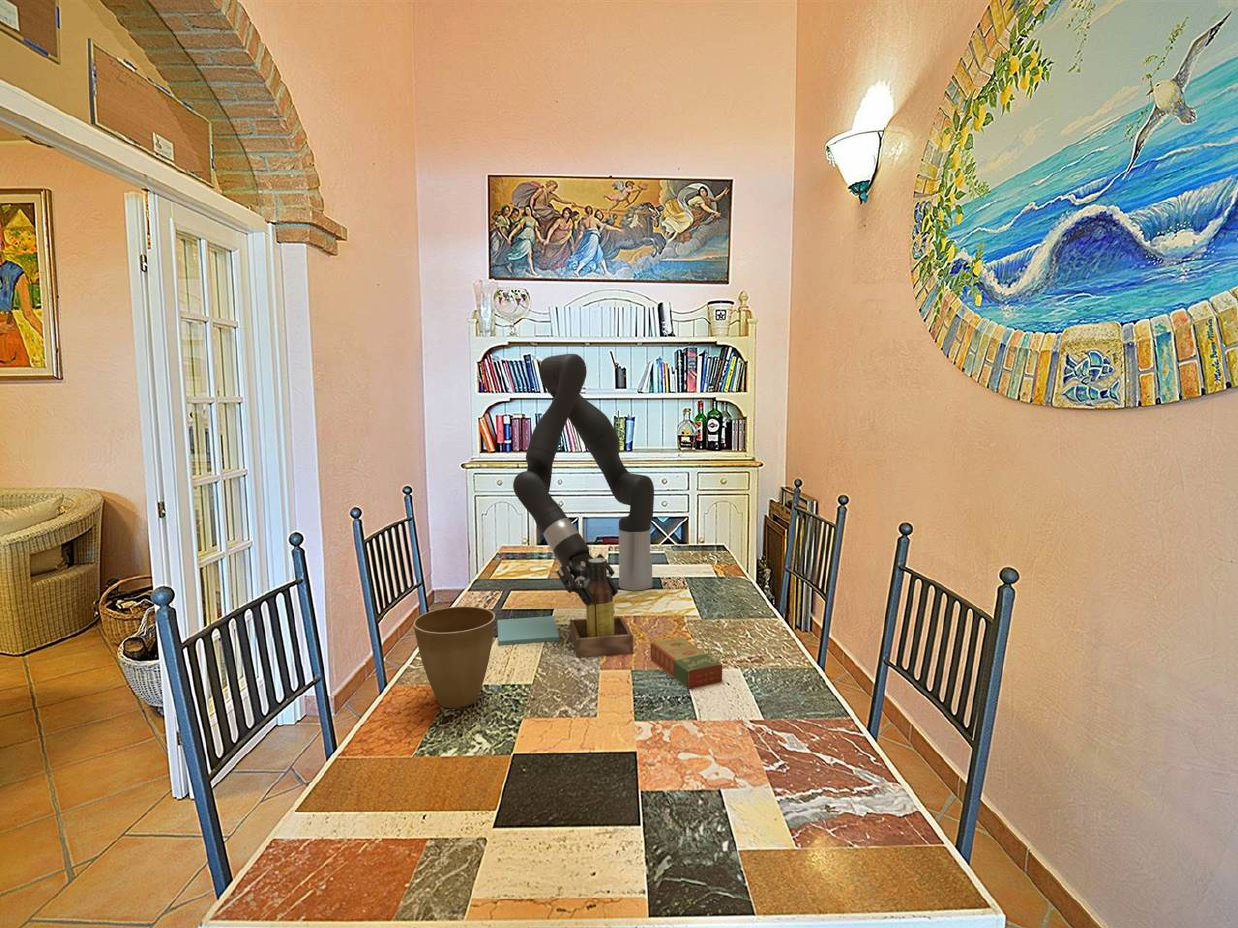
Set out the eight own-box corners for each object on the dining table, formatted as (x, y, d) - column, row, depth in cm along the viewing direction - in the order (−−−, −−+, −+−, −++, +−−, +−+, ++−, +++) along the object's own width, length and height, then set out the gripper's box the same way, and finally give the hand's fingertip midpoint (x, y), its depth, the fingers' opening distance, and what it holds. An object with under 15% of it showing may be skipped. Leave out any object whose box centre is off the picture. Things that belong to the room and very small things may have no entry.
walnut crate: (621, 632, 161) (621, 615, 161) (633, 652, 149) (633, 635, 148) (569, 636, 159) (569, 619, 158) (576, 657, 147) (576, 639, 146)
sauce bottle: (618, 640, 156) (618, 557, 153) (609, 651, 150) (608, 564, 147) (592, 637, 158) (591, 555, 155) (582, 647, 152) (581, 562, 150)
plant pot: (512, 690, 131) (510, 611, 129) (464, 725, 118) (461, 637, 116) (451, 676, 137) (448, 600, 135) (399, 708, 124) (395, 625, 122)
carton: (682, 653, 149) (683, 635, 149) (723, 683, 135) (723, 662, 134) (649, 660, 146) (649, 641, 145) (687, 691, 131) (688, 670, 131)
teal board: (553, 619, 170) (553, 615, 170) (559, 640, 156) (559, 636, 156) (497, 623, 167) (497, 619, 167) (498, 645, 153) (498, 641, 153)
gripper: (552, 538, 150) (591, 598, 144) (594, 527, 161) (632, 582, 155) (536, 557, 154) (573, 616, 148) (578, 545, 165) (614, 600, 159)
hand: (603, 599), depth 152 cm, fingers open, 8 cm apart
